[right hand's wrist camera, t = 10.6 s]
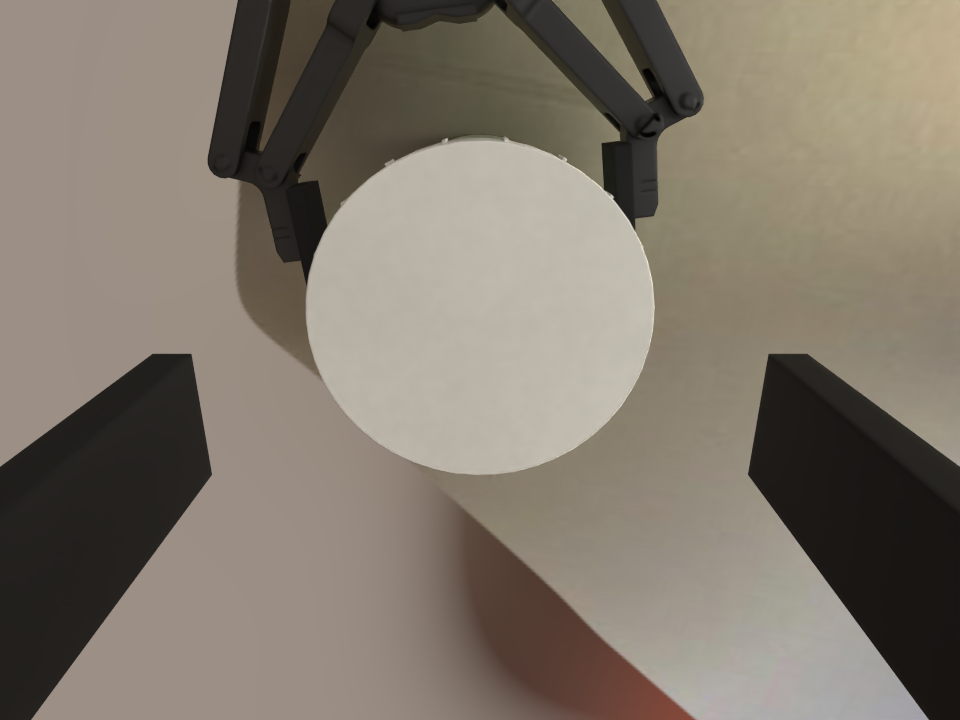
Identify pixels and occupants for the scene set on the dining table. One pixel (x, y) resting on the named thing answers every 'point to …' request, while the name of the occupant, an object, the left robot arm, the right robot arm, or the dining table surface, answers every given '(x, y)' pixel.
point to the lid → (479, 306)
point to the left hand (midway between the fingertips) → (476, 309)
